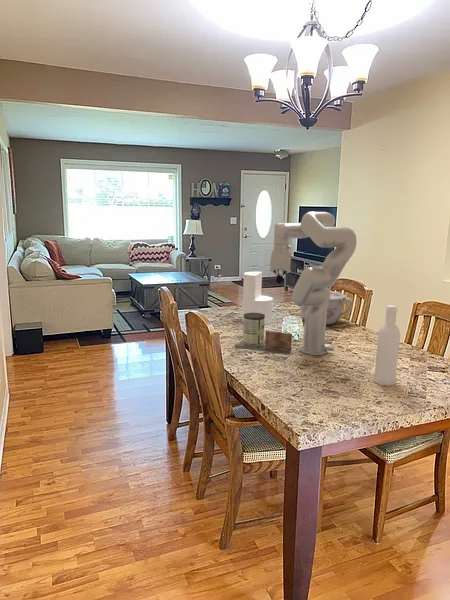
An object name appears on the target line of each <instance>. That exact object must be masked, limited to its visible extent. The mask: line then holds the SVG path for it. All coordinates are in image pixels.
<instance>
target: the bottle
mask: <svg viewBox="0 0 450 600" xmlns="http://www.w3.org/2000/svg"><path fill="white" fill-rule="evenodd" d="M385 310H386V311H385V321H384V324H383V325H381V326H380V327H379V330H378V335H377V344H376V345H377V347H376V353H375V354H376V355H375V356H376V357H375V365H374V374H373V375H374V376H373V378H374V379H373V382H374V383H375V382H376V383H375V384H377V385H380V386H384V385H386V386H385V387H391V386H390V385H392V386H394V385H396V381H397V369H398V360H399V359H398V358H399V351H400V350H399V349H400V340H401V332H400V329H399V327H398V326H397V325H396V322H397V321H396V320H397V314H398V313H397V312H398V306H396V305H395V304H393V305H392V304H388V305H386V308H385Z"/></svg>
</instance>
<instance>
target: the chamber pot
mask: <svg viewBox="0 0 450 600" xmlns="http://www.w3.org/2000/svg"><path fill="white" fill-rule="evenodd" d="M344 302H348V303H349V308H348V309H347V310H346V311H344V312H343V306H345V305H344ZM353 302H354V301H352V298H350V297H347V295H346V294H345V293H341V292H339V291H334V290H330V300H329V303H328V308H327V316H326V326H329V325H332V324H335V323H336V322H337V321H339V320H340V319H341V318H342V317H343V316H345V315H346V314H348V313H349V312H350V311H352V310H353V308H354V304H353ZM299 308H300V309H299V310H300V313H301V315H302V317H303V319H304V320H305V314H306V310H307V308H308V306H299Z"/></svg>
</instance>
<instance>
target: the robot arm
mask: <svg viewBox="0 0 450 600" xmlns="http://www.w3.org/2000/svg"><path fill="white" fill-rule="evenodd" d="M335 224H336V219H335V217H334V215H333V214H332V213H330V212H327V211H308V212H306V213H305V214H303V216H302V218H301V221H300V222H276V223H275V224H274V233H273V235H274V236H273V249H272V250H271V255H270V261H269V262H270V263H269V271H270V273H271V272H272V273H274V274H275V276H276V280H275V281H276V283H277V285H278V284H280V285H281V284H282V283H283V282H284V275H285V274H289V273H291V271H292V270H291V267H292V254H291V250H290V249H292V247H293V246H292V245H290V239H307V238H310V240H312V242H313V243H314V244H315V245H316V246H318V247H319V248H324V249H325V248H327V249H328V248H334V249H333V250H332V251H331V252H329V253H328V254H327V256H326V257H325V259H324V261H323V262H322V264H320V265H317V266H315V265H314V266H313V265H312V266H308V267H306V268H305V269H303V270H302V272H301V274H300V276H299V278H298V279H297V281H296V283H295V286H294V288H293V290H292V294H291V298H292V302H293V304H294V305H296V306H298V307H300V306H308V308H307V310H306V314H305V319H304V331H303V345H302V346H299V351H300V352H301V353H302V354H306V355H309V356H323V355H326V354H328V351H335V346H333V345H332V344H327V341H325V340H326V338H325V337H326V328H327V325H326V316H327V308H328V303H329V300H330V291H331V289H330V288H331V287H333V286H334V285H335V284H336V282H337V280H338V278H339V277H340V275H341V273H342V271H343V270H344V268H345V266H346V265H347V263H348V262H349V260H350V259H351V258H352V257H353V255H354V253H355V250H356V248H357V242H358V241H357V240H358V239H357V235H356V232H355V231H354V230H353V229H351V228H349V227H346V226H335Z"/></svg>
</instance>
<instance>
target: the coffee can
mask: <svg viewBox="0 0 450 600" xmlns="http://www.w3.org/2000/svg"><path fill="white" fill-rule="evenodd" d="M264 319H265V315H264V314H261V313H246V314H244V322H243V329H242V330H243V333H242V344H247V345H255V346H263V345H264V343H265V325H264Z"/></svg>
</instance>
